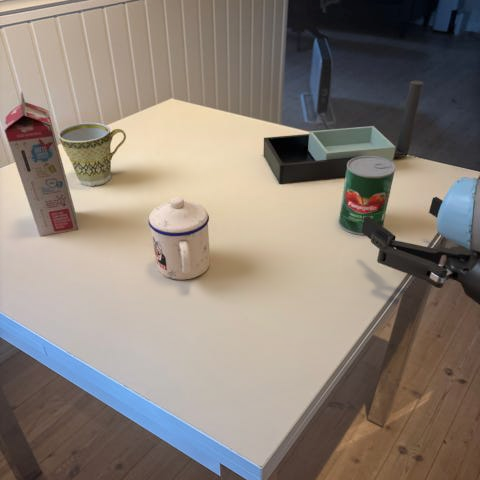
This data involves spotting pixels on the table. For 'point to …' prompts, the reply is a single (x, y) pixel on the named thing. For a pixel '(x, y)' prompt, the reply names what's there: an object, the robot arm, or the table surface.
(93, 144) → the ceramic cup
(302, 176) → the frame
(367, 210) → the canned tomato
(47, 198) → the juice carton
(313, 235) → the table surface
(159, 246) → the teacup with lid
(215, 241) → the table surface
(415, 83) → the green tray with handle
